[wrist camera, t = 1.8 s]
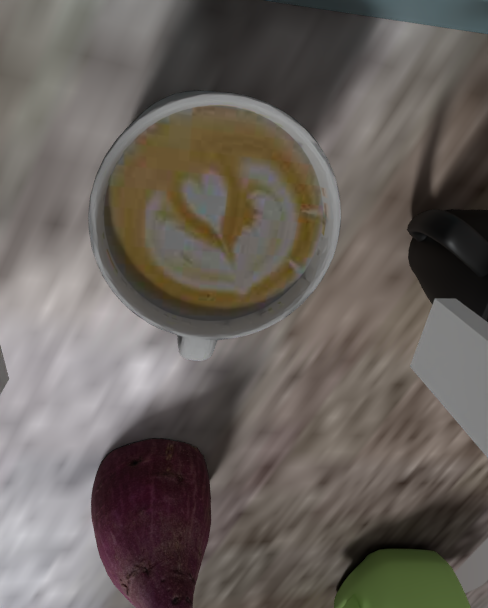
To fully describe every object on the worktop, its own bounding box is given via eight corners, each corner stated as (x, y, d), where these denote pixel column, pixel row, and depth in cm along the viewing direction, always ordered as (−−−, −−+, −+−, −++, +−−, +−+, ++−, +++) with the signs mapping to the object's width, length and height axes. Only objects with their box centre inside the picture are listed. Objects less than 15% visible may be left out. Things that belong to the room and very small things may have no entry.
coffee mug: (140, 59, 20) (121, 37, 12) (305, 130, 23) (386, 154, 15) (91, 281, 26) (52, 378, 17) (230, 315, 29) (257, 411, 20)
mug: (416, 131, 25) (541, 152, 16) (514, 229, 29) (647, 284, 21) (332, 236, 27) (404, 299, 19) (435, 310, 32) (527, 387, 24)
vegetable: (165, 399, 36) (200, 523, 22) (223, 468, 40) (283, 611, 26) (66, 470, 34) (37, 651, 21) (136, 535, 38) (151, 723, 24)
